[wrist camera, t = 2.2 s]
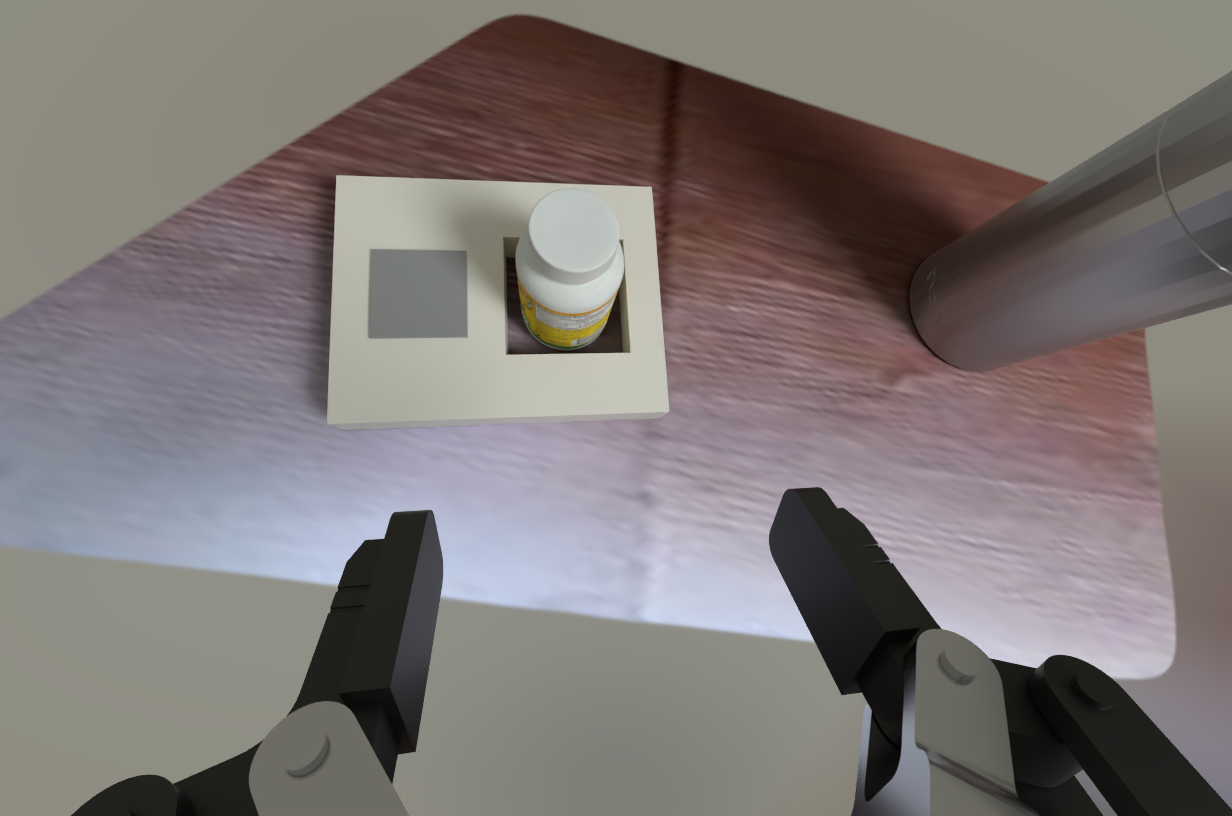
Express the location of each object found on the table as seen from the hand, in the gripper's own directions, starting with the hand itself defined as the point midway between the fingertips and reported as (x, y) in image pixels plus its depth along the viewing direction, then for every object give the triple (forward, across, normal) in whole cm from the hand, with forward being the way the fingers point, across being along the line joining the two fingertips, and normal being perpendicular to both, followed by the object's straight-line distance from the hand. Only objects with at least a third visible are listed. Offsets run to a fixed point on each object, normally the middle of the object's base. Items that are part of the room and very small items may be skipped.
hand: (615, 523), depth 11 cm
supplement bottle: (+21, 0, +4) cm, 21 cm away
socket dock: (+21, +3, +4) cm, 22 cm away
